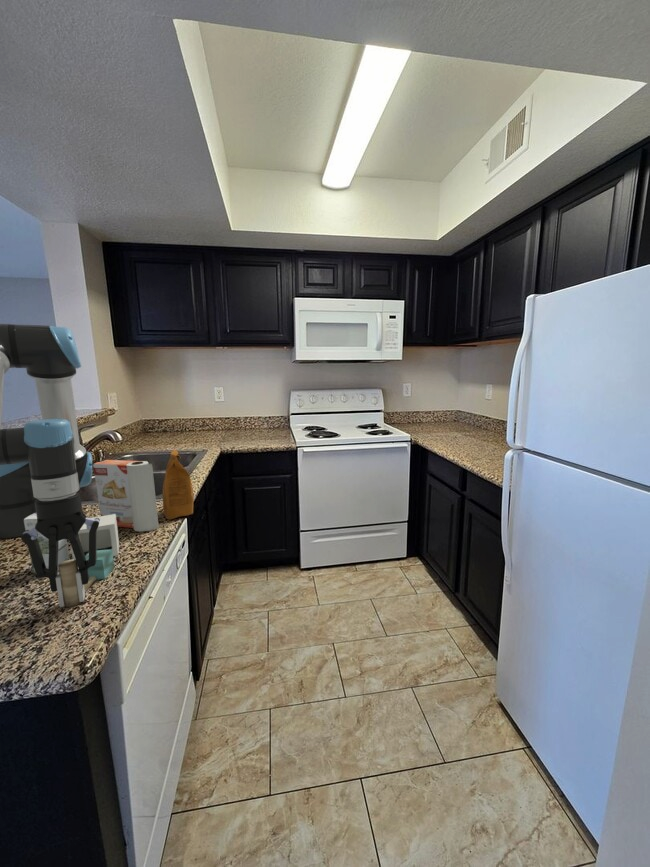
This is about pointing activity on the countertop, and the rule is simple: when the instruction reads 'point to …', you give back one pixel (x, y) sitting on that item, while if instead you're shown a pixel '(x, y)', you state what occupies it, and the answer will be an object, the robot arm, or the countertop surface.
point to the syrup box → (47, 543)
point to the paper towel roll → (142, 496)
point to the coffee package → (177, 489)
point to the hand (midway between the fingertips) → (72, 600)
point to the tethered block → (95, 572)
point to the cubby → (101, 535)
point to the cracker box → (114, 490)
